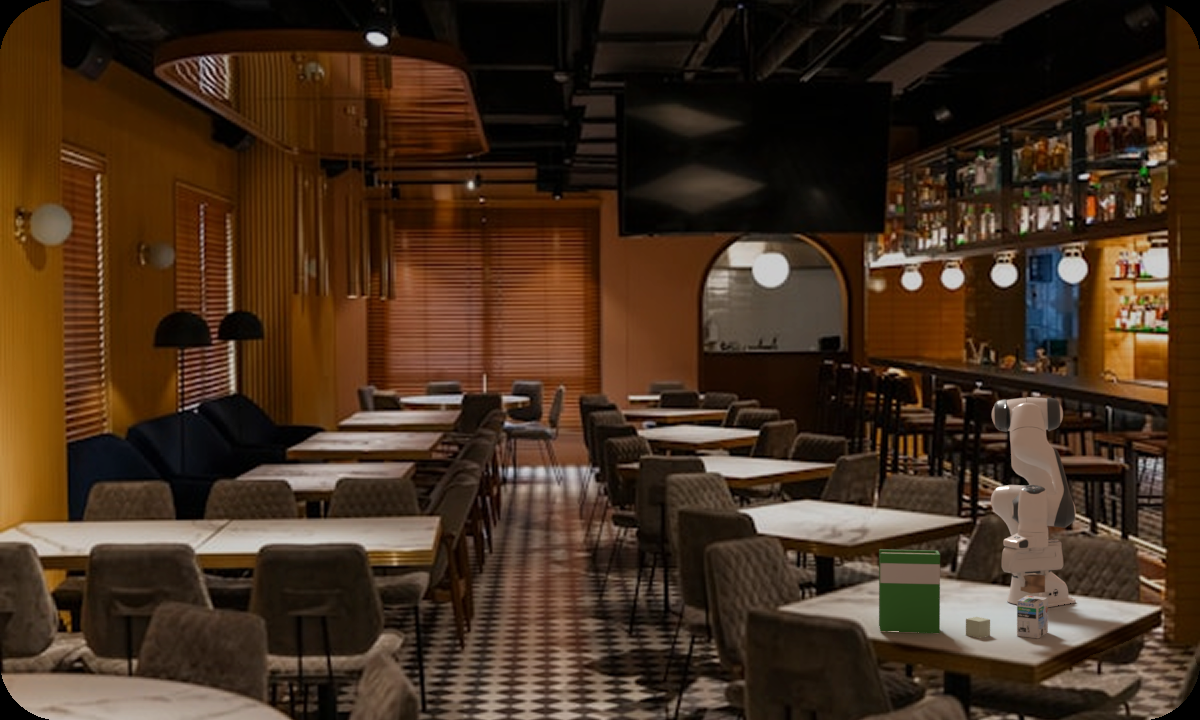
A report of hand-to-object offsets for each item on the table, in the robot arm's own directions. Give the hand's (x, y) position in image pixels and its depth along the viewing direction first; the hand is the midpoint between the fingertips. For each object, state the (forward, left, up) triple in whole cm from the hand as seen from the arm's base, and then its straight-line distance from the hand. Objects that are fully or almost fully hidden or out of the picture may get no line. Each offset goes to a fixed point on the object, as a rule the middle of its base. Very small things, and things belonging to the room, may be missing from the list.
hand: (1032, 585), depth 441 cm
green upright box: (+31, -19, -15) cm, 39 cm away
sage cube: (+16, -5, -15) cm, 22 cm away
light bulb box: (0, 0, -15) cm, 15 cm away
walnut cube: (0, 0, -2) cm, 2 cm away
